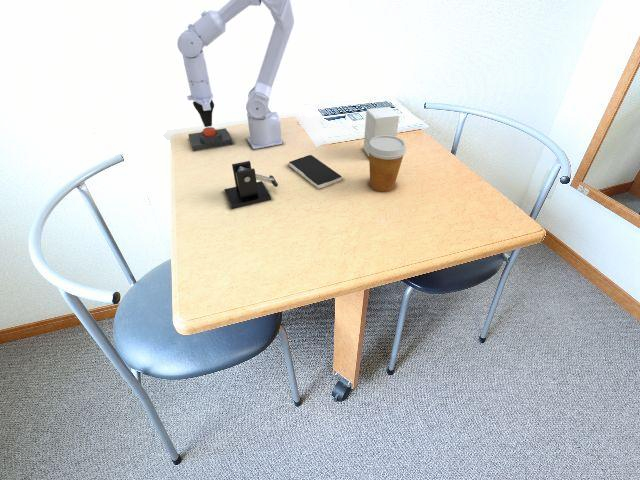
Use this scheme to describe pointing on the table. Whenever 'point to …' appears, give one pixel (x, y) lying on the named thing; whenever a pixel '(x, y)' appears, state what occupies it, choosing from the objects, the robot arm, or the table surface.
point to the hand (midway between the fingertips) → (208, 125)
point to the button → (209, 131)
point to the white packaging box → (380, 124)
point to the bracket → (246, 187)
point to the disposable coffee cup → (385, 161)
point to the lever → (262, 177)
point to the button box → (210, 140)
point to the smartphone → (315, 171)
